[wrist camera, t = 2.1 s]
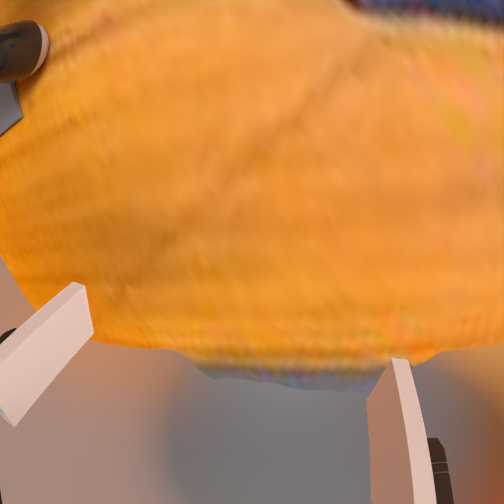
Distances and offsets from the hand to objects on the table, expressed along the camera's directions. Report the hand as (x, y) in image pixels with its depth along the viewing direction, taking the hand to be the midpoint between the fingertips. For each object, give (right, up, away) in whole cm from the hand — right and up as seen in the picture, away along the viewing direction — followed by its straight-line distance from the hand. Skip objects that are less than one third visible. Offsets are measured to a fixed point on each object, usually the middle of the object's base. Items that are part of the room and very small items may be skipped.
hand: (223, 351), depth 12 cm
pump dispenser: (-32, +36, +19) cm, 52 cm away
